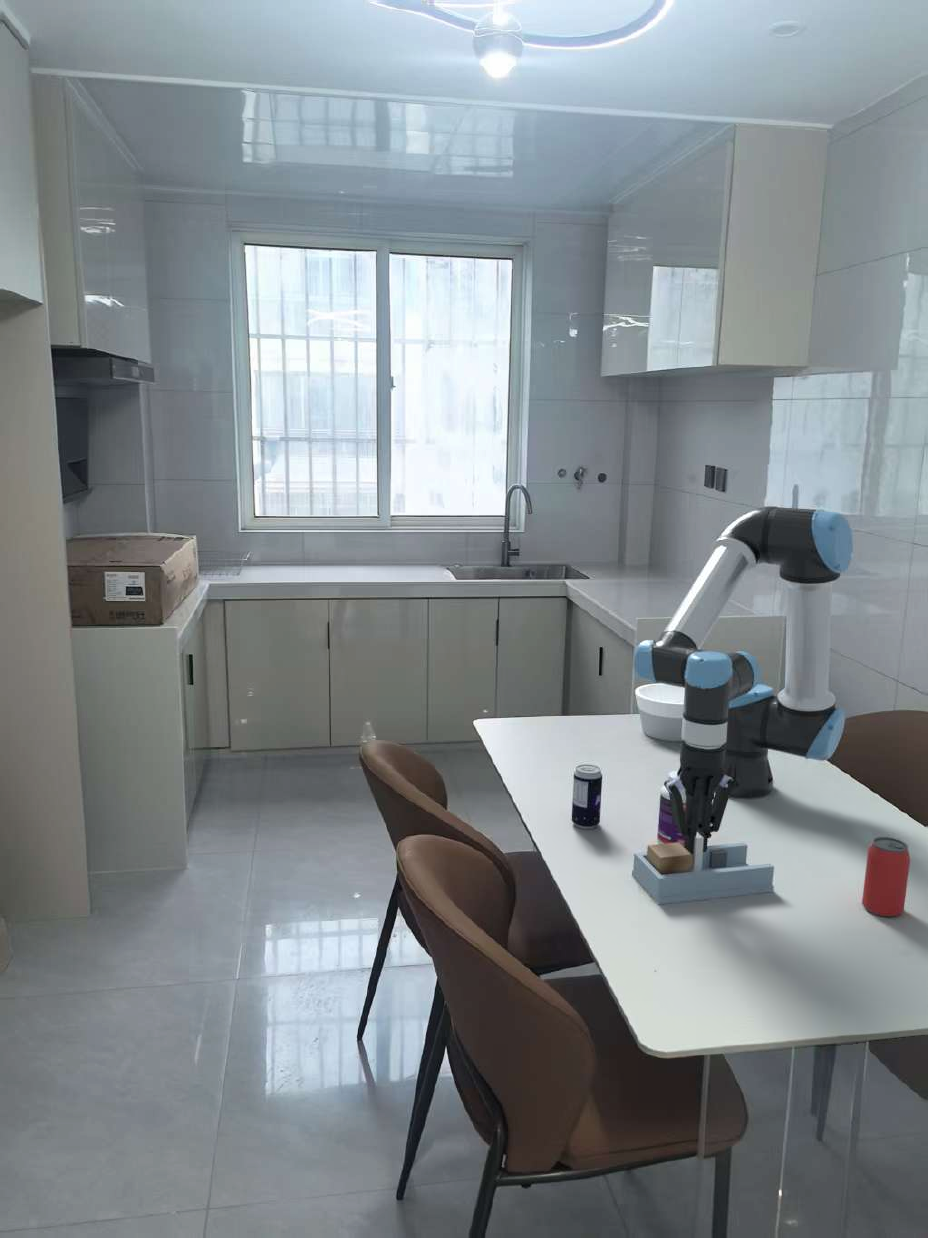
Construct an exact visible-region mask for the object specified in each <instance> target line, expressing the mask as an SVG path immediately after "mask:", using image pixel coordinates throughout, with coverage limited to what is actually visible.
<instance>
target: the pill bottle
mask: <svg viewBox="0 0 928 1238" xmlns="http://www.w3.org/2000/svg"><path fill="white" fill-rule="evenodd" d="M677 772H678V770H673V771H671V772H669V773H668V777H667V780H669V781H672V780H673V779H674V778H676V777H677ZM680 794H681V796H682V801H683V807H684V813H685V807H686V795H685V788H684V786H683V785H682V783H681V791H680ZM659 796H660V797H659V809H658V824H657V835H656V836H657V837H656V840H657V844H667V843H677V842H679V843H680V844H681V845H682V846H683V847H684V842H685V835H682V834H681V833H680V832H679V831H677V830H676V829H675V825H674V819H673V813H672V808H671V802H670V796H669V792H668V790H667V789H666V787H665V786H664V785H663V786H661V789H660V795H659ZM697 832H698V830H697Z"/></svg>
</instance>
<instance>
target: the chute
mask: <svg viewBox="0 0 928 1238" xmlns="http://www.w3.org/2000/svg"><path fill="white" fill-rule="evenodd" d="M747 854H748V844H747V843H745V842H736V843H735V842H734V843H733V842H732V843H726V844H715V845H707V850H706V852H703V856H702V869H701V871H695V872H693V871H692V870H691V872H685V873H676V874H666V875H661V874H660V873H659V872H658V871H657V870H656V869H655V868H654V867H653V866H652V865H651V864H650V863H649V862H648V861H647V851H644V852H635V853H634V852H633V867H632V869H631V876H632V878H634V879H635V881H636V882H637V883H638V884H639V885H640V886H641V888H642V889H644V890H645V891H646V892H647V894H648V895H649V896H650V897H651V898H652V899H653V900H654V901H655V903H657V905H665V904H667V905H668V904H676V903H677V904H678V903H683V902H693V901H694V902H695V901H701V900H711V899H718V898H719V899H720V898H729V897H736V896H739V897H740V896H744V895H753V894H754V895H755V894H764V893H774V888H775V886H774V885H773V882H774V880H773V879H774V871H775V866H774V865H773V864H772V863H763V864H752V865H749V864H748V863H747V857H748V855H747Z"/></svg>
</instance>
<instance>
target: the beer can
mask: <svg viewBox="0 0 928 1238" xmlns="http://www.w3.org/2000/svg"><path fill="white" fill-rule="evenodd" d="M910 863H911V857H910V852H909V845H908V844H907V843H906V842H904V841H902V840H901V839H898V838H894V837H889V836H878V837H875V838H873V839H872V842H871V843H870V846H869V847H868V851H867V857H866V867H865V874H864V882H863V891H862V899H861V903H862V905H863V908H864V909H866V910H867V911H869V913H872V914H874V915H877V916H881V917H885V918H886V917H887V918H894V917H898V916H901V915H902V914H903V913H904V911H905V903H906V896H907V889H908V887H907V886H908V880H909V872H910Z"/></svg>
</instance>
